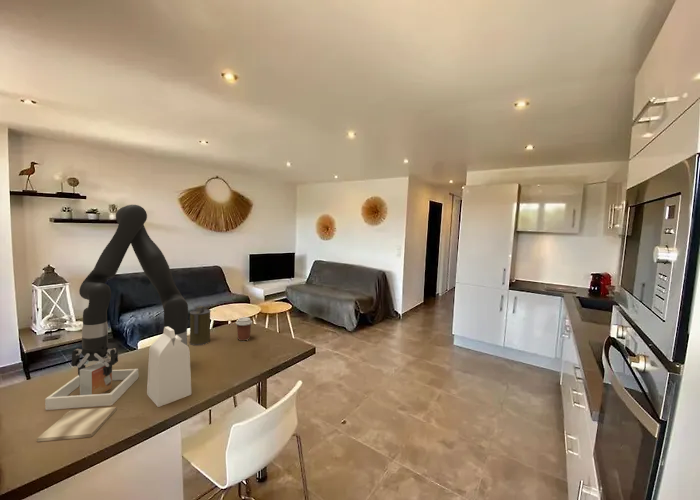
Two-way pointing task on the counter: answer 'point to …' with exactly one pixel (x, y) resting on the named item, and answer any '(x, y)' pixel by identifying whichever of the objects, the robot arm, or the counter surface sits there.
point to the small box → (94, 380)
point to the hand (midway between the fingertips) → (95, 375)
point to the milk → (168, 369)
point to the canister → (199, 326)
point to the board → (77, 424)
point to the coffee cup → (243, 328)
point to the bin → (64, 402)
